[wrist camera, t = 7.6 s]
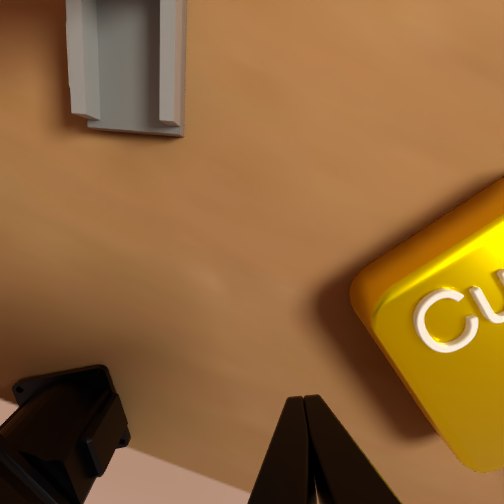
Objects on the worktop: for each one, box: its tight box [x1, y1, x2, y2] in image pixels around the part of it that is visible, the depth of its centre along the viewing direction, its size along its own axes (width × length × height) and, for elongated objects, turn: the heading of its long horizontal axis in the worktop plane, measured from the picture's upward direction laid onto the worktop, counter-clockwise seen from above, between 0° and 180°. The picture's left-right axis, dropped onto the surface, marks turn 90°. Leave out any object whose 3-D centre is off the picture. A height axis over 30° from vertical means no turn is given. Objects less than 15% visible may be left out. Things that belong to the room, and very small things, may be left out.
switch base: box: [66, 0, 187, 137], centre depth 16 cm, size 12×5×3 cm, turn 176°
